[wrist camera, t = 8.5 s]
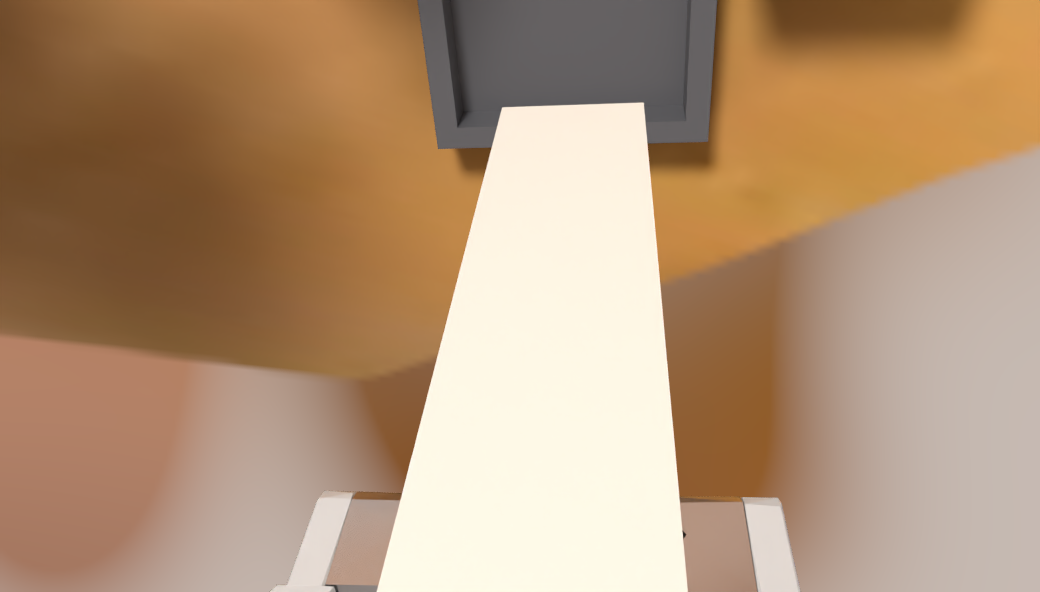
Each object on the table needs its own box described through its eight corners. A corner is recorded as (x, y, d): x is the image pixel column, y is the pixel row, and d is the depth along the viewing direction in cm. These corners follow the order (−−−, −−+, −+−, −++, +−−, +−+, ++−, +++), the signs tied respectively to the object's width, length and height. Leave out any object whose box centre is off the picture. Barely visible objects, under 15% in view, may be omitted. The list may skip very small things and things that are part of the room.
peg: (501, 107, 21) (357, 666, 9) (643, 102, 21) (696, 679, 8) (512, 228, 23) (405, 821, 11) (641, 226, 23) (682, 837, 10)
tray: (410, -158, 33) (397, -147, 31) (720, -178, 32) (727, -169, 30) (446, 125, 40) (438, 148, 38) (702, 117, 39) (708, 141, 37)
